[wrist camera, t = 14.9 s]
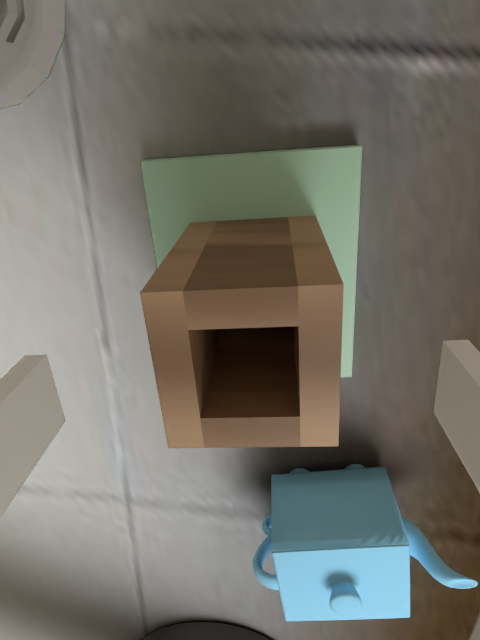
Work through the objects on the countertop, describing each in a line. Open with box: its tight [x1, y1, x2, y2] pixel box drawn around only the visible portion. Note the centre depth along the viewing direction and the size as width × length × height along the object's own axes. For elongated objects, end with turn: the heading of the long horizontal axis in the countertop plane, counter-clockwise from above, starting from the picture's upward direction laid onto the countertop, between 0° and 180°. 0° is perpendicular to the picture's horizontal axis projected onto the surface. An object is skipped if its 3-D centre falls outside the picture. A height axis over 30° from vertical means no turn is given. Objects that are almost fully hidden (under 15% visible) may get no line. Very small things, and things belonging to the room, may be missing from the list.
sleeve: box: [140, 215, 344, 448], centre depth 18 cm, size 6×6×9 cm
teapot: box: [253, 464, 478, 621], centre depth 26 cm, size 12×6×8 cm, turn 100°
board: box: [140, 145, 362, 377], centre depth 23 cm, size 12×10×1 cm
